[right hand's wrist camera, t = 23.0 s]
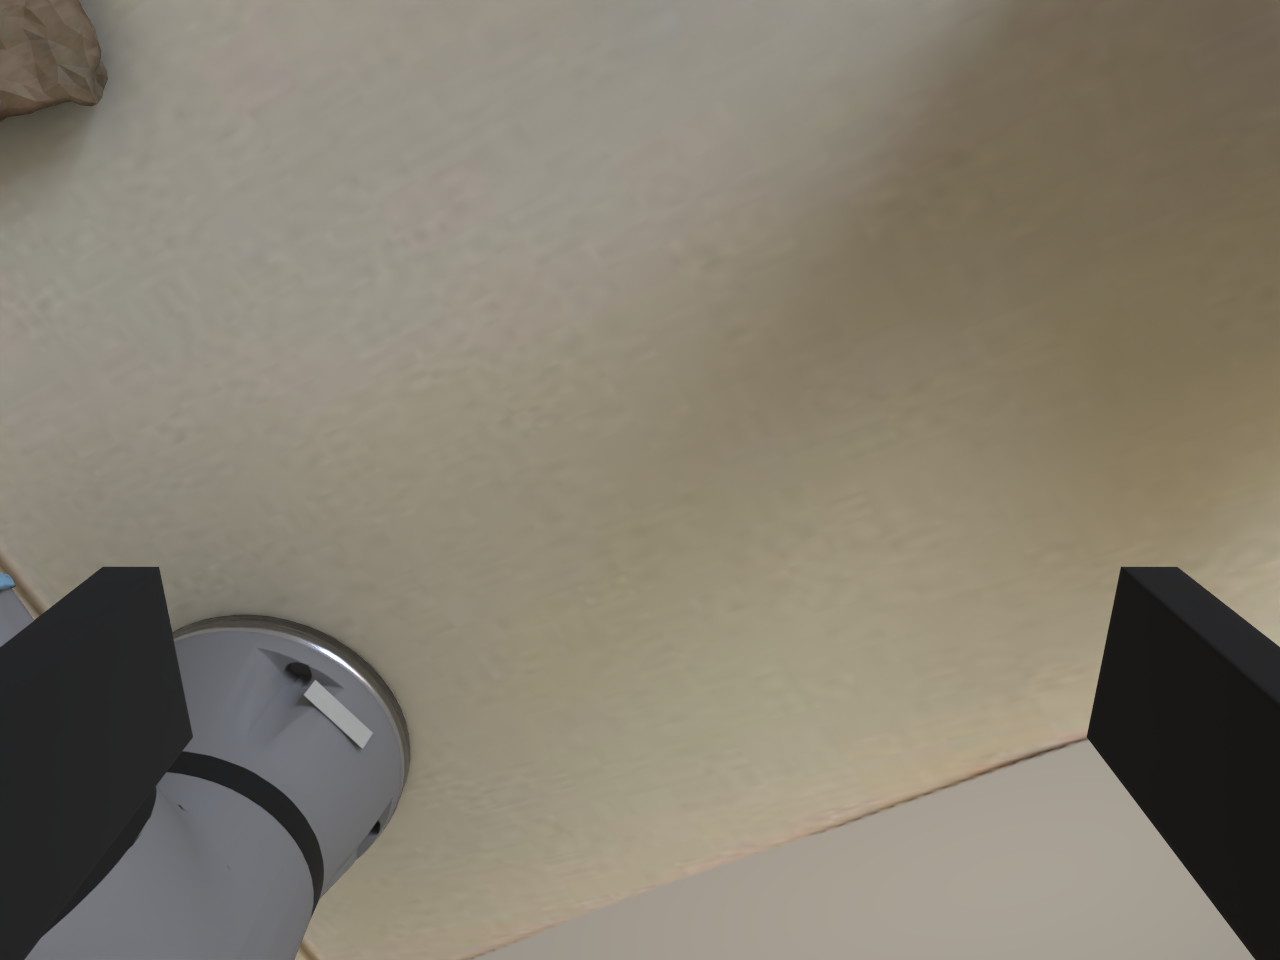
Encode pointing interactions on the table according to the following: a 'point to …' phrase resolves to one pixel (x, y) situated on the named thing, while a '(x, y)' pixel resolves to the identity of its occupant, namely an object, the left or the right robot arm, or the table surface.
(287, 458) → the table surface
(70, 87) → the stone
